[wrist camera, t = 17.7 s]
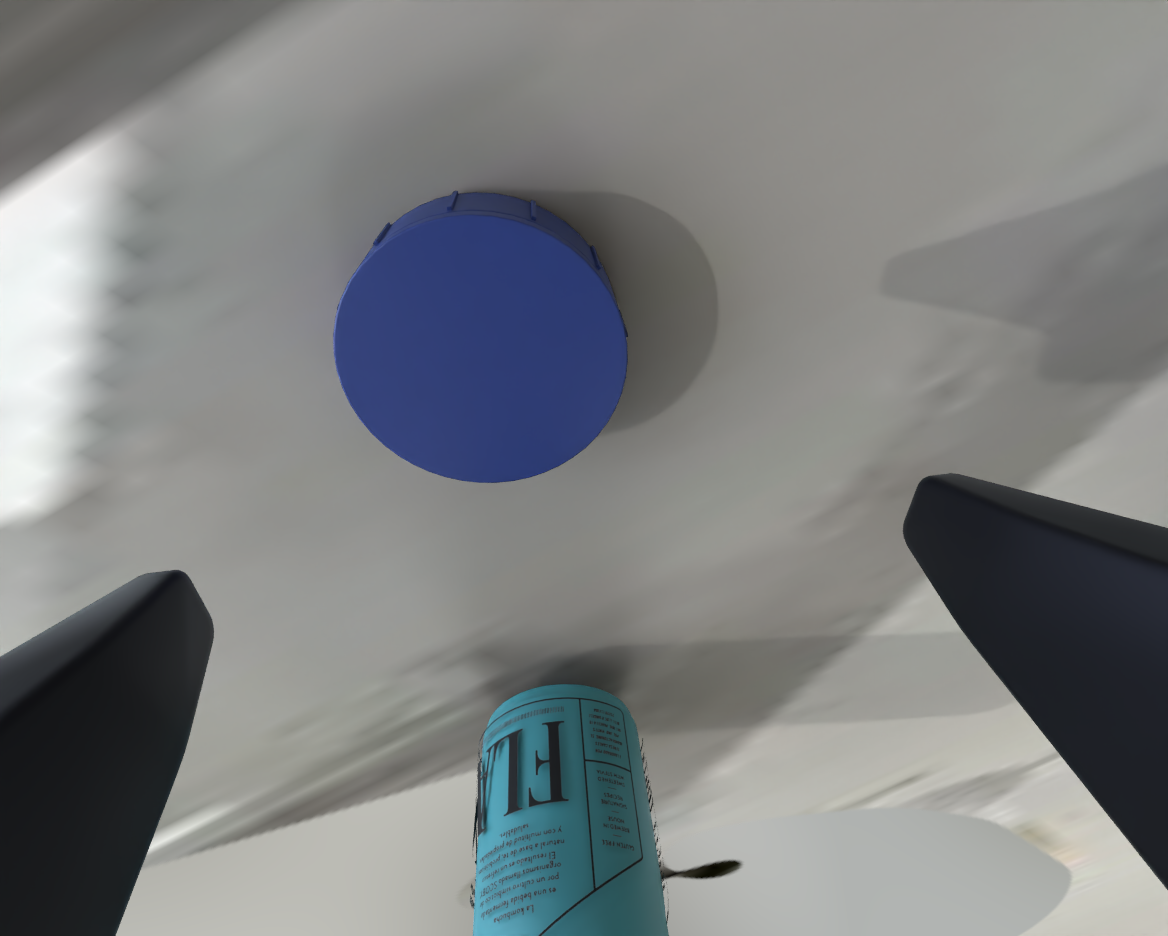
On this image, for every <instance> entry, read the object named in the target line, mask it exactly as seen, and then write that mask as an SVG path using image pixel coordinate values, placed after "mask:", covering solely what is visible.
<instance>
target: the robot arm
mask: <svg viewBox="0 0 1168 936" xmlns="http://www.w3.org/2000/svg"><path fill="white" fill-rule="evenodd" d="M903 534H904V539H905V542H906V544H907V546H908V548H909V549H910V551H911V552H912V554H913V556H914V557H915V559H916V560H917V562H918V563H919V565H920V566H921V568H922V570H923V571H924V573H925V574H926V576H927V577H928V579H929V581H930V582H931V584H932V585H933V587H934V588H935V590H936V591H937V593H938V595H939V596H940V598H941V599H942V601H943V602H944V604H945V606H946V607H947V609H948V610H949V612H950V613H951V615H952V616H953V618H954V619H955V621H956V622H957V624H958V625H959V627H960V628H961V630H962V631H963V632H964V634H965V635H966V636H967V638H968V639H969V640H970V642H971V643H972V644H973V646H974V647H975V648H976V649H977V651H978V652H979V653H980V655H981V656H982V657H983V658H984V660H985V661H986V662H987V663H988V665H989V666H990V667H991V668H992V670H993V671H994V672H995V673H996V675H997V676H998V677H999V678H1000V680H1001V681H1002V682H1003V683H1004V685H1005V686H1006V687H1007V689H1008V690H1009V691H1010V692H1011V694H1012V695H1013V696H1014V697H1015V699H1016V700H1017V701H1018V702H1019V704H1020V705H1021V706H1022V707H1023V709H1024V710H1025V711H1026V712H1027V714H1028V715H1029V716H1030V717H1031V719H1032V720H1033V721H1034V722H1035V724H1036V725H1037V726H1038V728H1039V729H1040V730H1041V731H1042V733H1043V734H1044V735H1045V736H1046V738H1047V739H1048V740H1049V741H1050V743H1051V744H1052V745H1053V746H1054V748H1055V749H1056V750H1057V751H1058V753H1059V754H1060V755H1061V756H1062V758H1063V759H1064V760H1065V762H1066V763H1067V764H1068V765H1069V767H1070V768H1071V769H1072V770H1073V772H1074V773H1075V774H1076V775H1077V777H1078V778H1079V779H1080V780H1081V782H1082V783H1083V784H1084V785H1085V787H1086V788H1087V789H1088V790H1089V792H1090V793H1091V794H1092V796H1093V797H1094V798H1095V799H1096V801H1097V802H1098V803H1099V804H1100V806H1101V807H1102V808H1103V809H1104V811H1105V812H1106V813H1107V814H1108V816H1109V817H1110V818H1111V819H1112V821H1113V822H1114V823H1115V824H1116V826H1117V827H1118V828H1119V829H1120V831H1121V832H1122V833H1123V835H1124V836H1125V837H1126V838H1127V840H1128V841H1129V842H1130V843H1131V845H1132V846H1133V847H1134V848H1135V850H1136V851H1137V852H1138V853H1139V855H1140V856H1141V857H1142V858H1143V860H1144V861H1145V862H1146V863H1147V865H1148V866H1149V867H1150V869H1151V870H1152V871H1153V872H1154V874H1155V875H1156V876H1157V877H1158V879H1159V880H1160V881H1161V882H1162V884H1163V885H1164V886H1165V887H1166V889H1167V890H1168V528H1165V527H1161V526H1157V525H1153V524H1150V523H1146V522H1142V521H1138V520H1134V519H1130V518H1126V517H1122V516H1119V515H1115V514H1111V513H1107V512H1103V511H1099V510H1095V509H1092V508H1088V507H1084V506H1080V505H1076V504H1072V503H1068V502H1064V501H1061V500H1057V499H1053V498H1049V497H1045V496H1041V495H1037V494H1034V493H1030V492H1026V491H1022V490H1018V489H1014V488H1010V487H1006V486H1003V485H999V484H995V483H991V482H987V481H983V480H979V479H976V478H972V477H968V476H964V475H960V474H953V473H949V474H941V475H933V476H928V477H925V478H924V479H922V480H921V482H920V483H919V484H918V486H917V489H916V491H915V494H914V497H913V499H912V502H911V505H910V507H909V510H908V513H907V515H906V518H905V521H904V524H903ZM213 638H214V628H213V622H212V619H211V616H210V614H209V612H208V610H207V609H206V607H205V605H204V603H203V601H202V599H201V598H200V596H199V594H198V592H197V590H196V588H195V587H194V585H193V583H192V581H191V579H190V578H189V577H188V575H187V574H186V573H184V572H182V571H179V570H171V571H163V572H155V573H147V574H144V575H141V576H139V577H137V578H135V579H133V580H132V581H130V582H128V583H126V584H125V585H123V586H121V587H119V588H118V589H116V590H114V591H113V592H111V593H109V594H107V595H106V596H104V597H102V598H101V599H99V600H97V601H95V602H94V603H92V604H90V605H89V606H87V607H85V608H83V609H82V610H80V611H78V612H76V613H75V614H73V615H71V616H70V617H68V618H66V619H64V620H63V621H61V622H59V623H58V624H56V625H54V626H52V627H51V628H49V629H47V630H45V631H44V632H42V633H40V634H39V635H37V636H35V637H33V638H32V639H30V640H28V641H27V642H25V643H23V644H21V645H20V646H18V647H16V648H14V649H13V650H11V651H9V652H8V653H6V654H4V655H2V656H1V657H0V936H116V933H117V930H118V928H119V925H120V922H121V920H122V917H123V914H124V912H125V909H126V907H127V904H128V901H129V899H130V896H131V893H132V891H133V888H134V886H135V883H136V880H137V878H138V875H139V873H140V870H141V867H142V865H143V862H144V860H145V857H146V854H147V852H148V849H149V846H150V844H151V841H152V839H153V836H154V833H155V831H156V828H157V825H158V823H159V820H160V818H161V815H162V812H163V810H164V807H165V804H166V802H167V799H168V797H169V794H170V791H171V789H172V786H173V784H174V781H175V778H176V776H177V773H178V770H179V767H180V764H181V762H182V759H183V756H184V753H185V749H186V746H187V742H188V739H189V735H190V732H191V728H192V724H193V720H194V716H195V712H196V708H197V704H198V700H199V696H200V692H201V688H202V684H203V680H204V676H205V672H206V668H207V664H208V660H209V656H210V652H211V648H212V644H213Z"/></svg>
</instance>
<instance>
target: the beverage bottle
mask: <svg viewBox="0 0 1168 936" xmlns="http://www.w3.org/2000/svg"><path fill="white" fill-rule="evenodd" d="M485 731H486V732H485ZM485 731H484V733H485V735H484V739H483V743H482V746H481V749H482V747H483V753H482V758H481V759H482V761H481V759H480V762H479V763H478V769H477V771H478V799H477V806H476V813H475V824H474V837H473V846H474V838H475V831H476V823H477V818H478V848H477V833H476V861H475V863H476V865H477V868H476V880H475V881H476V887H475V890H473V891H472V895H475V903H473V905H475V906H474V925H473V936H669V935H668V929H667V922H666V917H665V905H664V897H663V888H664V887H665V886H663V888H662V882H663V881H662V880H661V875H660V874H661V873H660V869H659V868H660V866H661V860H660V862H659V863H658V860H659V858H660V857H659V858H658V857H657V851H658V850H656V846H657V844H656V843H655V838H654V837H655V836H654V832H653V831H654V830H655V829H653V825H652V819H651V813H650V812H651V809H652V806H651V809H650V807H649V803H650V799H651V794H650V799H649V800H648V794H649V793H648V792H649V791H648V792H647V788H648V787H647V786H646V781H647V776H646V780H645V776H644V774H645V771H644V769H643V763H644V761H643V759H644V756H643V759H642V757H641V750H640V744H639V738H638V732H637V727H636V724H635V722H634V720H633V718H632V716H631V714H630V712H629V710H628V708H627V707H626V706H625V704H624V703H623V702H622V701H621V700H619V699H618V698H617V697H615V696H613V695H612V694H610V693H608V692H605V691H603V690H600V689H597V688H594V687H589V686H584V685H575V684H557V685H547V686H542V687H537V688H533V689H530V690H527V691H524V692H522V693H519V694H517V695H515V696H513V697H511V698H510V699H508V700H507V701H505V702H504V703H503V704H502V705H501V706H499V707H498V708H497V710H496V711H495V712H494V713H493V715H492V716H491V718H490V720H489V723H488V725H487V728H486V730H485ZM484 733H483V734H484ZM483 734H482V736H483ZM481 738H482V737H481ZM480 741H481V739H480ZM479 744H480V742H479ZM642 745H643V738H642ZM641 749H642V747H641ZM479 751H480V750H479ZM479 754H480V753H479ZM643 755H644V753H643ZM478 758H480V756H479V757H478ZM644 760H645V759H644ZM642 761H643V763H642ZM480 763H482V772H481V770H480ZM646 763H647V762H646ZM647 769H648V768H647ZM645 770H646V767H645ZM648 775H649V774H648ZM649 781H650V780H648V782H647V785H648V783H649ZM650 787H651V786H649V788H650ZM649 788H648V789H649ZM649 790H650V789H649ZM651 793H652V792H651ZM652 805H654V804H653V798H652ZM654 811H655V810H654ZM655 817H656V816H655ZM655 823H657V822H655ZM655 826H656V825H654V828H655ZM657 829H658V828H657ZM476 832H477V831H476ZM655 835H656V833H655ZM658 835H659V834H658ZM657 840H658V837H657ZM657 840H656V841H657ZM659 841H660V840H659ZM657 842H658V841H657ZM660 847H661V846H660ZM661 853H662V852H661ZM661 853H660V851H659V854H661ZM658 856H660V855H658ZM662 859H663V858H662ZM663 865H664V864H663ZM664 871H665V870H664ZM661 872H662V871H661ZM663 877H664V872H663ZM663 877H662V879H663V880H664V878H663ZM665 877H666V876H665ZM661 881H662V882H661ZM472 888H473V886H472V884H471V889H472ZM470 899H472V897H471V894H470ZM472 902H473V900H472ZM470 903H471V901H470ZM471 906H472V904H471ZM667 919H668V915H667Z"/></svg>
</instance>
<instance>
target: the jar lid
mask: <svg viewBox="0 0 1168 936" xmlns="http://www.w3.org/2000/svg"><path fill="white" fill-rule="evenodd" d="M373 244H374V246H373V247H372V249H371V250H370V251H369V253H368V254H367V256H366V257H365V259H364V260H363V262H362V263H361V264H360V266H359V267H358V269H357V270H356V272H355V273H354V275H353V276H352V278H351V279H350V281H349V282H348V284H347V287H346V289H345V291H344V293H343V295H342V297H341V300H340V303H339V305H338V307H337V314H336V318H335V326H334V334H333V340H334V357H335V363H336V368H337V373H338V376H339V379H340V382H341V385H342V388H343V390H344V392H345V394H346V396H347V399H348V401H349V403H350V405H351V406H352V408H353V409H354V411H355V412H356V414H357V416H358V417H359V419H360V420H361V421H362V422H363V424H364V425H365V426H366V427H367V428H368V430H369V431H370V432H371V433H372V434H373V435H374V436H375V437H376V438H377V439H378V440H379V441H380V442H381V443H382V444H384V445H385V446H386V447H387V448H389V449H390V450H391V451H393V452H394V453H395V454H397V455H398V456H400V457H402V458H403V459H405V460H407V461H408V462H410V463H412V464H413V465H416V466H418V467H420V468H422V469H424V470H427V471H429V472H432V473H435V474H438V475H441V476H444V477H448V478H452V479H457V480H462V481H470V482H479V483H497V482H507V481H515V480H520V479H524V478H529V477H532V476H535V475H538V474H541V473H544V472H547V471H549V470H551V469H553V468H555V467H558V466H560V465H561V464H563V463H565V462H566V461H568V460H570V459H571V458H573V457H574V456H575V455H577V454H578V453H579V452H581V451H582V450H583V449H584V448H586V447H587V446H588V445H589V444H590V443H591V442H592V441H593V440H594V439H595V438H596V437H597V436H598V434H599V433H600V432H601V430H602V429H603V428H604V427H605V425H606V424H607V423H608V421H609V419H610V417H611V416H612V414H613V412H614V410H615V409H616V406H617V404H618V401H619V399H620V396H621V394H622V390H623V387H624V383H625V379H626V371H627V362H628V354H627V340H626V337H628V333H627V330H626V327H625V324H624V321H623V318H622V315H621V312H620V310H619V308H618V305H617V302H616V299H615V296H614V293H613V290H612V287H611V284H610V281H609V278H608V276H607V274H606V272H605V270H604V268H603V266H602V264H601V262H600V261H599V259H598V256H597V253H596V250H595V248H594V246H591V247H590V246H589V245H588V244H587V243H586V241H585V240H584V239H583V238H582V237H581V236H580V235H579V234H578V233H577V232H576V231H575V230H574V229H573V228H571V227H570V226H569V225H568V224H567V223H566V222H564V221H563V220H561V219H560V218H558V217H557V216H555V215H554V214H552V213H551V212H549V211H547V210H545V209H543V208H541V207H539V206H537V205H536V201H533V200H531V203H530V202H527V201H524V200H521V199H518V198H515V197H511V196H506V195H501V194H496V193H477V192H475V193H463V194H458V191H454V192H453V194H452V195H450V196H446V197H442V198H438V199H435V200H433V201H430V202H428V203H425V204H422V205H420V206H418V207H417V208H415V209H413V210H411V211H410V212H408V213H406V214H404V215H403V216H402V217H401V218H399V219H398V220H397V221H396V222H394V223H393V224H392V225H391V224H390V223H388V224H387V225H386V226H385V227H384V229H383V230H382V232H381V233H380V234H379V236H378V237H377V239H376V240H375V241H374V243H373Z"/></svg>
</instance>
